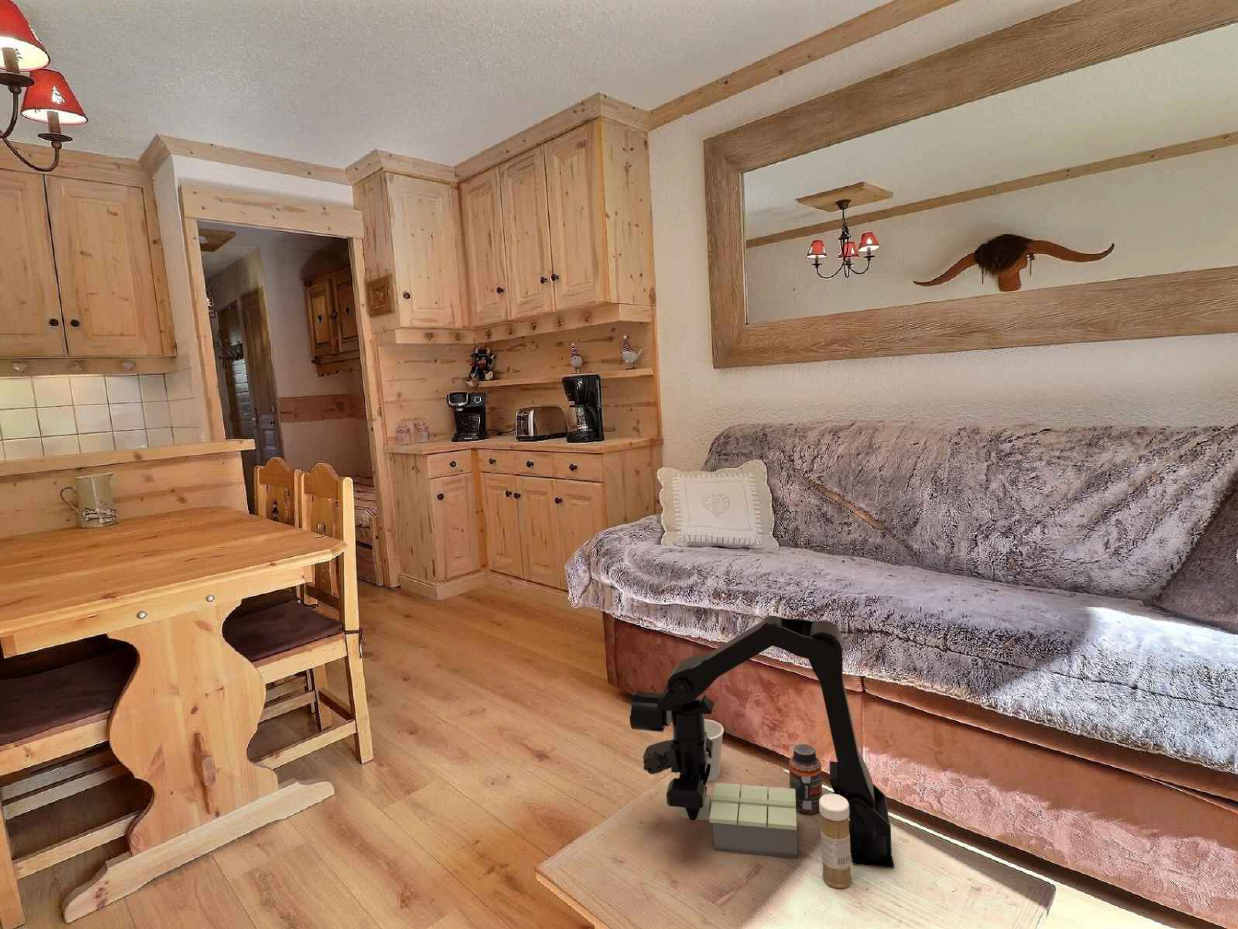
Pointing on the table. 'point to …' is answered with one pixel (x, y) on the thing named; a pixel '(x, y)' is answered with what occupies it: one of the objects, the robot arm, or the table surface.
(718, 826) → the tub
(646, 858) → the table surface
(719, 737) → the dixie cup
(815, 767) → the supplement bottle
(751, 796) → the lid
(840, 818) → the sprinkles bottle
